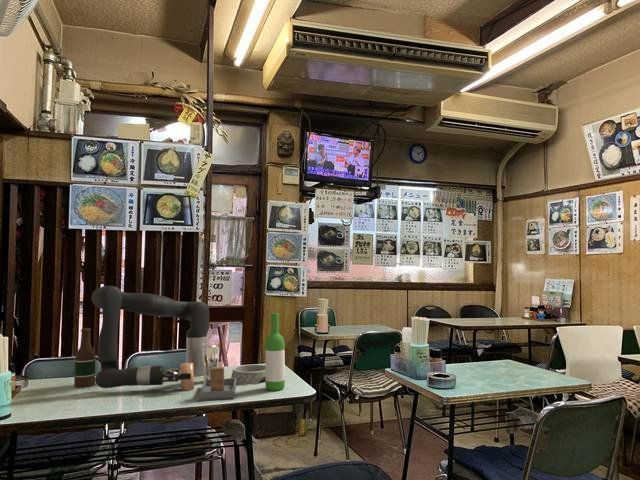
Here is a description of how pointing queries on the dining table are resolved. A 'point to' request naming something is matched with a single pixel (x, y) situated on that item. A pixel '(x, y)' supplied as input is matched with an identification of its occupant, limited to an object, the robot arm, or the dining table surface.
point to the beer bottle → (85, 362)
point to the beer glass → (210, 359)
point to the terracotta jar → (187, 383)
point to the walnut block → (217, 379)
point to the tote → (228, 391)
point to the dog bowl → (249, 374)
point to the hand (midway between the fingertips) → (192, 373)
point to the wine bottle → (274, 357)
